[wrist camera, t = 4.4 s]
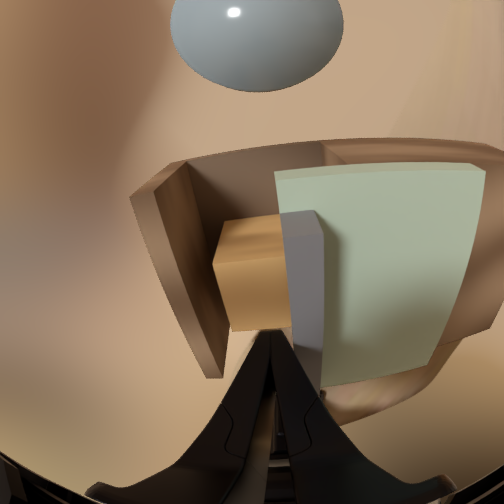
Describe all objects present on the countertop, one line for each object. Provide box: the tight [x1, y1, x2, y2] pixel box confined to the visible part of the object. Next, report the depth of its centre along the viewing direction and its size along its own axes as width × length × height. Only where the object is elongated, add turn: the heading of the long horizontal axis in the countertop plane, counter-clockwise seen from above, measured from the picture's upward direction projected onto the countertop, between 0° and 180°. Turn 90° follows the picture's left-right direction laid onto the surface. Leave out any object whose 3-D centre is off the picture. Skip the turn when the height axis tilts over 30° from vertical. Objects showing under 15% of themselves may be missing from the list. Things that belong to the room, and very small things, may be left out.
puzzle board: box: [130, 138, 504, 378], centre depth 13 cm, size 11×19×5 cm, turn 99°
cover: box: [274, 162, 486, 397], centre depth 10 cm, size 11×8×2 cm
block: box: [212, 214, 292, 332], centre depth 13 cm, size 4×4×4 cm
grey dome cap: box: [170, 0, 343, 92], centre depth 9 cm, size 8×8×1 cm
